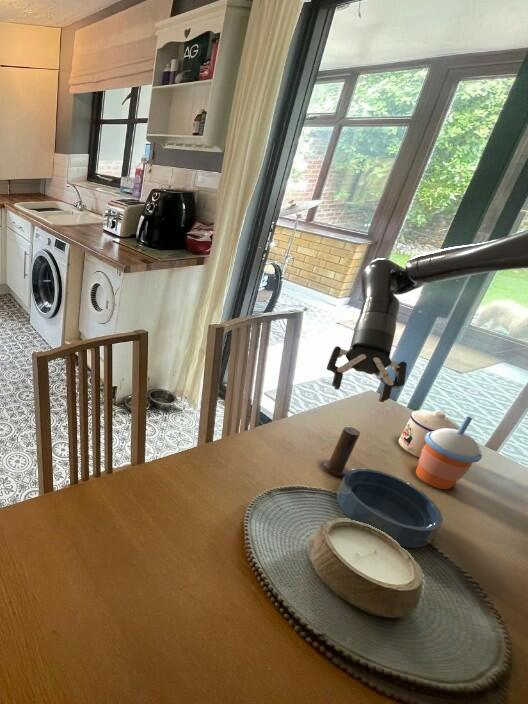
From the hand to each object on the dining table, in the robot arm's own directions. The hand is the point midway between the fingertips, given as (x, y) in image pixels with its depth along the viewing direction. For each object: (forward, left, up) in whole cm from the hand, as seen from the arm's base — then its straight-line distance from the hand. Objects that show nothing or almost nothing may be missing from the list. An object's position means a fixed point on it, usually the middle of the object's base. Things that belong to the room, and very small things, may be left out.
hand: (358, 394), depth 97 cm
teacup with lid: (-18, -12, -17) cm, 28 cm away
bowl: (-8, +18, -17) cm, 26 cm away
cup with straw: (-19, -2, -17) cm, 26 cm away
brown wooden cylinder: (0, +8, -17) cm, 19 cm away
